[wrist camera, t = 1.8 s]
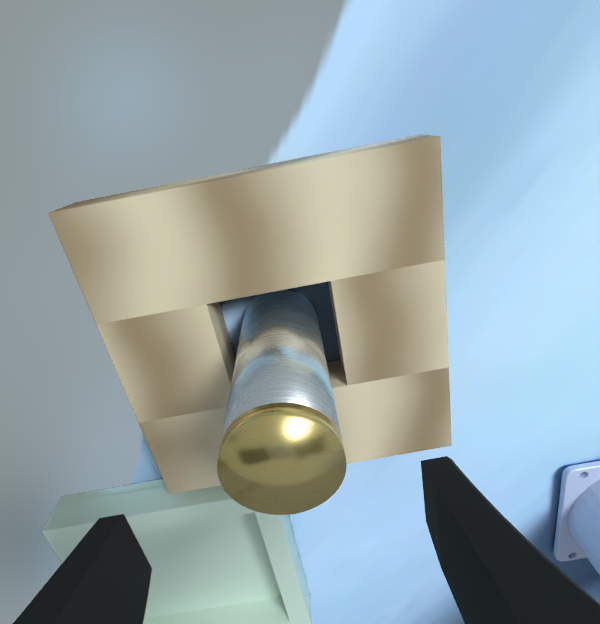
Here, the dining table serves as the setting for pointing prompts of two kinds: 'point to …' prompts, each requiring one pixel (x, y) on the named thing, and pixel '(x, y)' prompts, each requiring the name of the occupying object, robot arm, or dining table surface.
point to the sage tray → (198, 553)
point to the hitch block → (268, 278)
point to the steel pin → (281, 412)
